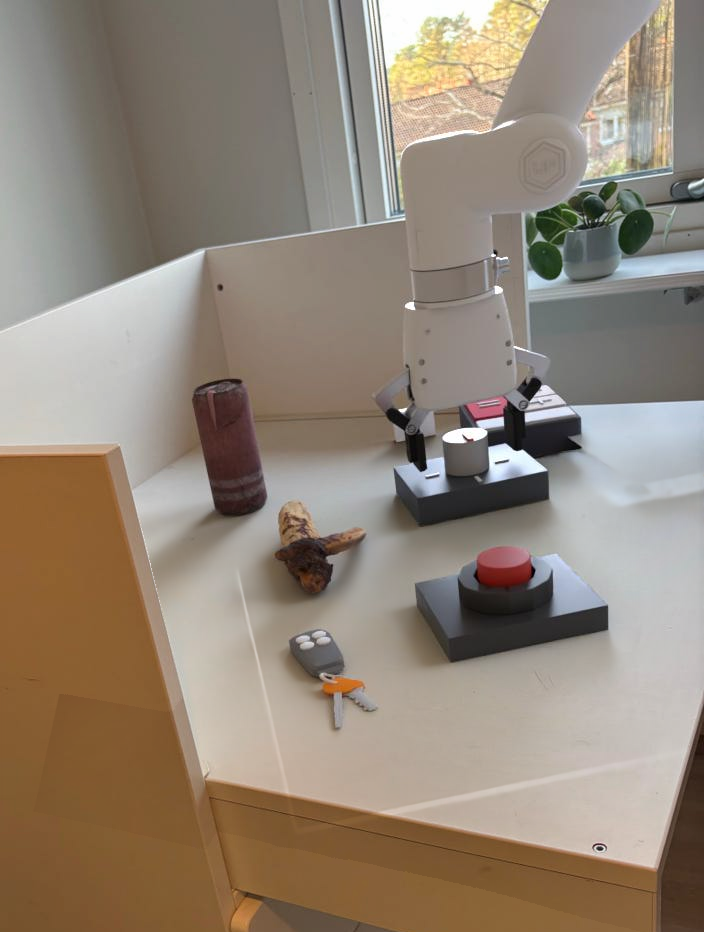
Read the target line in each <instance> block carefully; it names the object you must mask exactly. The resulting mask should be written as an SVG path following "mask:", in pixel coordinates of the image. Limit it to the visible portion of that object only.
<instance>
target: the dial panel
mask: <svg viewBox="0 0 704 932" xmlns="http://www.w3.org/2000/svg"><path fill="white" fill-rule="evenodd" d="M488 450H489V468H488V469H487V470H486V471H484V472H482V473H479V474H475V475H470V476H453V475H449V474H447V473H446V472H445V464H444V456H440V457H435V458H430V459H426V461H427V469H426V470H425V471H423V472H420V471H419V470H418V469H417V468H416V467H415V465H414V464H413V463H408V464H403V465H398V466H393V468H392V469H393V477H394V484H395V485H394V486H395V494H396V495H397V496H398V498H399V499H400V500H401V502H402V503H403V504H404V506H405V507H406V509H407V510H408V511H409V513H410V515H411V516H412V517H413V519H414V520H415V521H416V523H417V524H418V525H419V527H424V525H425V526H428V525H433V523H434V524H438V523H437V522H439V523H442V522H443V523H444V522H447V520H448V521H453V520H456V519H462V518H466V517H472V516H475V515H480V514H481V515H482V514H485V513H490V512H494V511H500V510H504V509H509V508H512V507H518V506H523V505H527V504H532V503H536V502H542V501H546V500H550V483H549V482H550V481H549V480H550V479H549V478H550V477H549V470H548V469H547V468H546V467H544V466H543V465H542V464H541V463H540V462H538V461H537V460H536V459H535V458H534V457H531V456H530V455H528V454H527V453H526V452H525V451H524V450H521V451H515V450H513V449H512V448H510V447H509V446H508V445H507V444H506V443H505V444H500V445H496V446H491V447H488Z"/></svg>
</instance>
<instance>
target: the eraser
mask: <svg viewBox="0 0 704 932" xmlns="http://www.w3.org/2000/svg"><path fill="white" fill-rule="evenodd" d="M406 409H407V407H405V408H400V409H398V410H399V411H401V412H402V413H403V414H404V412H405V410H406ZM434 412H435V411H430V412H429V413H428V415H427V416H426V418H425V420H424V421H423V423H422V424H421V426H420V431H421V432H422V433H423V434H424V438H426V437H430V436H436V435H437V434H436V424H435V423H436V422H435V413H434ZM392 426H393V435H394V440H395V442H396V443H400V442H405V434H404V430H402V429H401V428H399V427H398V426H396V425H395V424H393V423H392Z"/></svg>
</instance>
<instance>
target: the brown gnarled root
mask: <svg viewBox="0 0 704 932" xmlns="http://www.w3.org/2000/svg"><path fill="white" fill-rule="evenodd" d="M277 521H278V522H277V523H278V534H279V539H280V546H281V548H279V549H278V550H277V551H276V552H274V559H275V560H276V561H279V562H284V565H285V566H286V568H287V571H288V573H289V574H290V575H291V576H292V577H293V578H294V580H296V581H297V582H300V585H301V586H302V589H303V590H305V591H307V592H308V593H311V594H318V593H320V592H322V591H325V590H326V589H327V587H328V585H329V584H330V583H331V581H332V576H333V572H334V564H333V563H329V561H328V560H329V559H327V557H330V556H335V555H338V554H340V553H343V552H345V551H349V550H350V549H353V548H354V547H356V546H358V545H360V544H361V542H363V541H364V539H365V538H366V536H367V531H366V530H365V529H364V528H363V527H359V526H355V527H353V528H351V529H348V530H346V531H343V532H339V533H332V534H329V535H326V536H323V537H321V536H320V535H319V533H318V531H317V528H316V527H315V524H314V523H315V522H314V521H313V519H312V517H311V515H310V513H309V511H308V510H307V508H306V507H305V506H304V503H302V502H300V501H298V500H292V501H288V502H287V503H285V504H283V506H282V507H281V509H279V512H278V518H277Z"/></svg>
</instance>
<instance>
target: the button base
mask: <svg viewBox="0 0 704 932" xmlns="http://www.w3.org/2000/svg"><path fill="white" fill-rule="evenodd" d="M531 574H532V575H531V578H530V579H529V580H528V581H526V582H524V583H523V584H519V585H514V586H509V587H490V586H487V585H484V584H481V583H480V582H479V580H478V571H477V559H475V560H473V561H472V562H470V563H468V564H466V565H464V566H463V567H462V568H461V570H460V572H459V573H457V574H452V575H447V576H443V577H437V578H433V579H430V580H424V581H419V582H415V583H414V591H415V601H416V606H417V608H418V610H419V611H420V613H421V615H422V617H423V619H424V620H425V622H426V623H427V625H428V627H429V629H430V631H431V632H432V633H433V635H434V637H435V638H436V640H437V642H438V644H439V645H440V647H441V649H442V650H443V652H444V654H445V655H446V657H447V658H448V660H449V662H450V663H451V664H452V663H457V662H461V661H466V660H467V661H468V660H471V659H476V658H480V657H486V656H491V655H496V654H500V653H506V652H511V651H514V650H519V649H524V648H529V647H533V646H538V645H543V644H547V643H553V642H559V641H563V640H566V639H571V638H577V637H582V636H585V635H591V634H595V633H599V632H605V631H608V630H609V604H608V603H607V602H606V601H605V600H604V599H603V598H602V597H601V596H600V595H599V594H598V593H597V592H596V591H595V590H594V589H593V588H592V587H591V586H590V585H589V584H588V583H587V582H586V581H585V580H584V579H583V578H582V577H581V576H580V575H579V574H578V573H577V571H575V570H574V569H573V568H571V566H570V565H569V564H568V563H567V562H566V561H565V560H564V559H563V558H562V557H561V556H560V555H559V554H558V553H556V552H555V553H550V554H546V555H542V556H537V557H536V556H534V555H531Z"/></svg>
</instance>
